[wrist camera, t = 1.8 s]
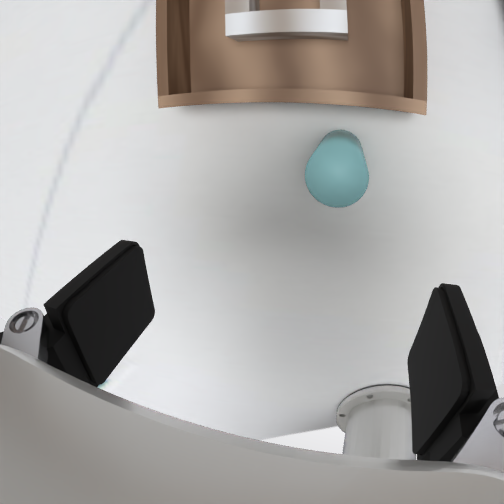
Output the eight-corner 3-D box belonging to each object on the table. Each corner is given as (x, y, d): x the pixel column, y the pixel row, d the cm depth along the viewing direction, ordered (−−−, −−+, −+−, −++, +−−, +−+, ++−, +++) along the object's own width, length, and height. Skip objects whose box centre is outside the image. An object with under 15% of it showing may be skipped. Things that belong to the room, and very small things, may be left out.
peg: (362, 131, 25) (371, 148, 16) (360, 173, 26) (365, 210, 18) (320, 128, 26) (305, 142, 17) (319, 169, 27) (303, 204, 19)
